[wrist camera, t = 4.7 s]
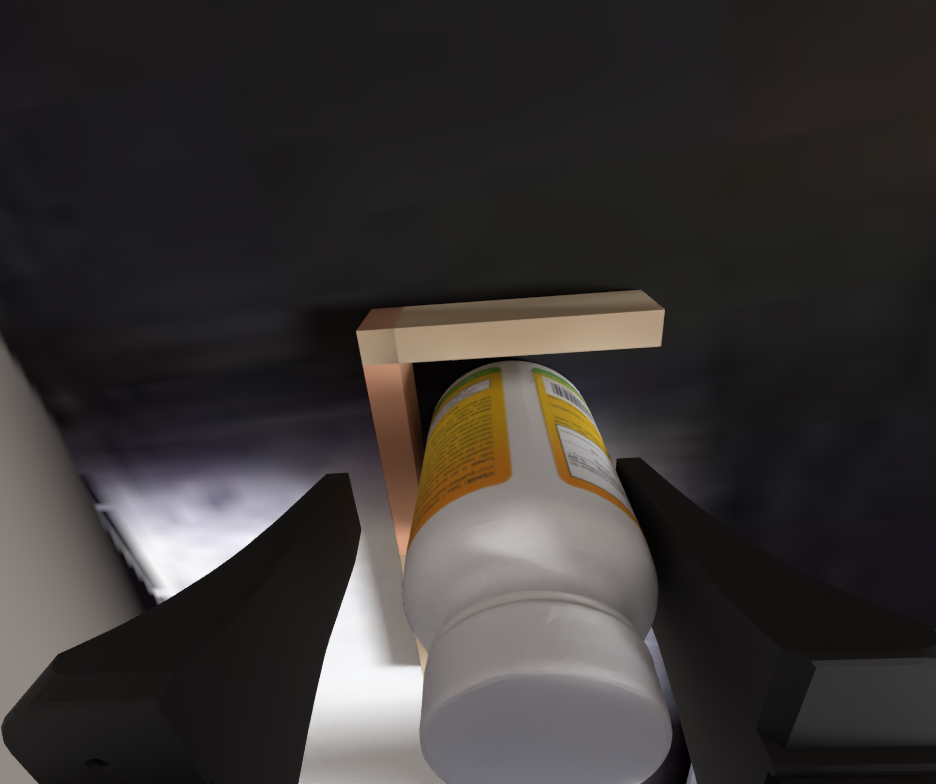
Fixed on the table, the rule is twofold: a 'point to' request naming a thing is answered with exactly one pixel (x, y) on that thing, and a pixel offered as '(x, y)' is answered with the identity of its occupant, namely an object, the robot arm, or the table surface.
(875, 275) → the table surface
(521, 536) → the supplement bottle
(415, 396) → the e-shaped wooden frame
